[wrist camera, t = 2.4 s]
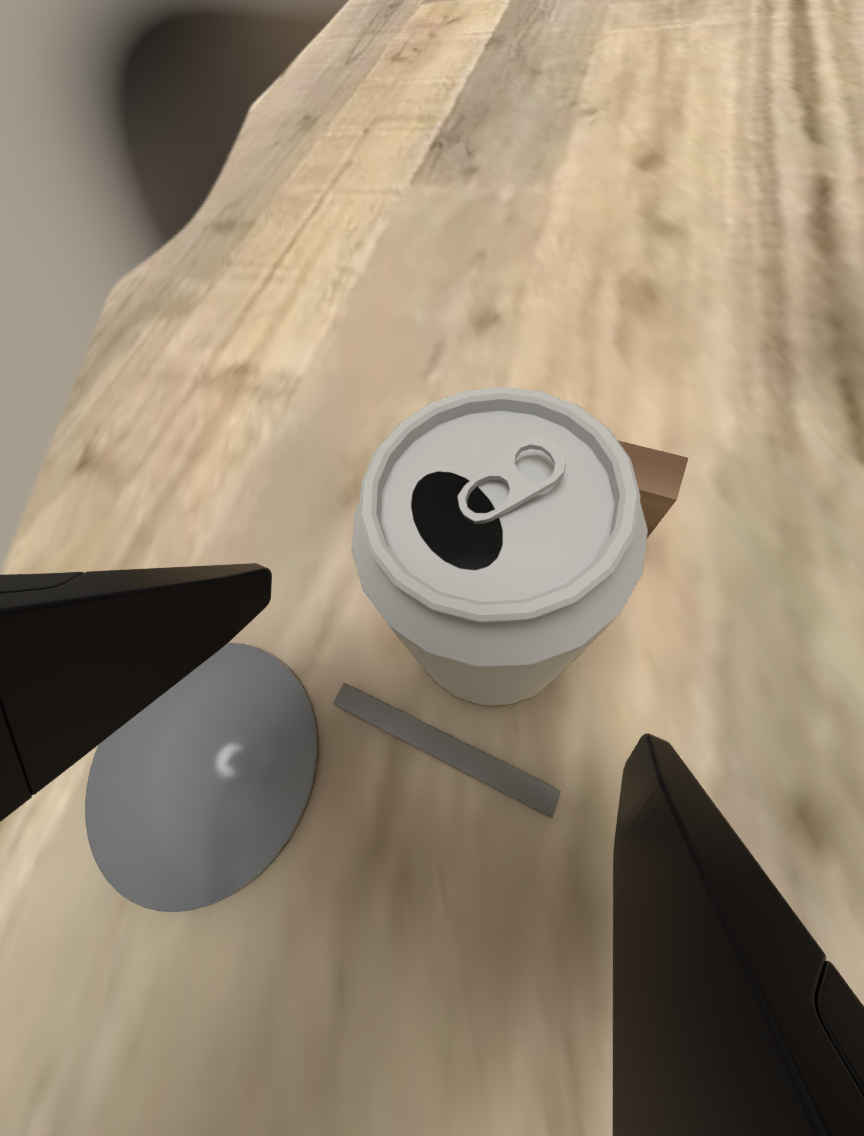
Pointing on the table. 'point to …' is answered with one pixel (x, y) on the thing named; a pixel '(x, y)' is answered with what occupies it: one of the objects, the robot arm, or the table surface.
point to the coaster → (203, 782)
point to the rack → (657, 495)
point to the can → (499, 538)
